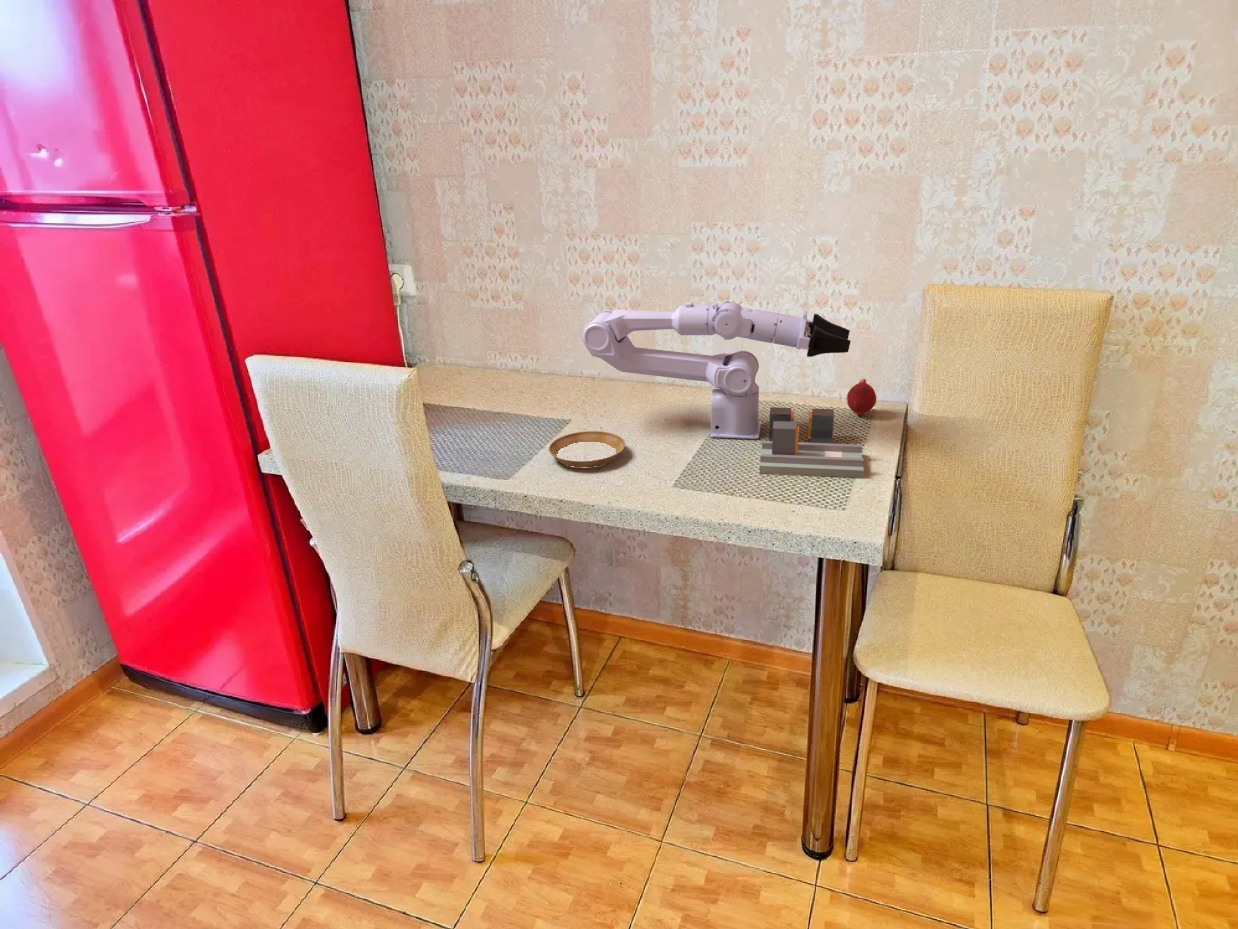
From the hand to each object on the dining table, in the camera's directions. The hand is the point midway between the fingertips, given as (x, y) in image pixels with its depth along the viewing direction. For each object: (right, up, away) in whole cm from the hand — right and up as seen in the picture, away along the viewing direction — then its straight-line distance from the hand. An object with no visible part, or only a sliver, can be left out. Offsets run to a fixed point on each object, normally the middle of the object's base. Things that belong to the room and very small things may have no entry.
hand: (848, 341), depth 153 cm
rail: (-8, -23, -3) cm, 24 cm away
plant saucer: (-49, -22, +6) cm, 54 cm away
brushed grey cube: (-3, -18, +7) cm, 20 cm away
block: (-11, -18, +8) cm, 23 cm away
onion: (+7, -13, +18) cm, 23 cm away
